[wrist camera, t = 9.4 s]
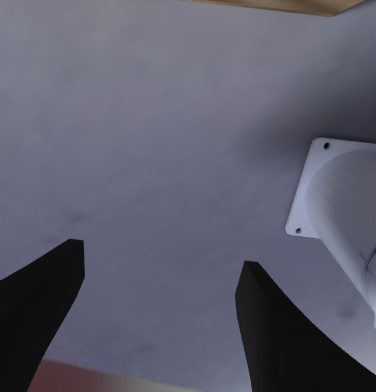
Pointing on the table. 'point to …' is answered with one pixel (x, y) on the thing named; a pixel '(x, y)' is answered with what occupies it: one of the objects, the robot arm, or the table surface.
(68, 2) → the table surface
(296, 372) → the robot arm
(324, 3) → the wooden compartment tray
